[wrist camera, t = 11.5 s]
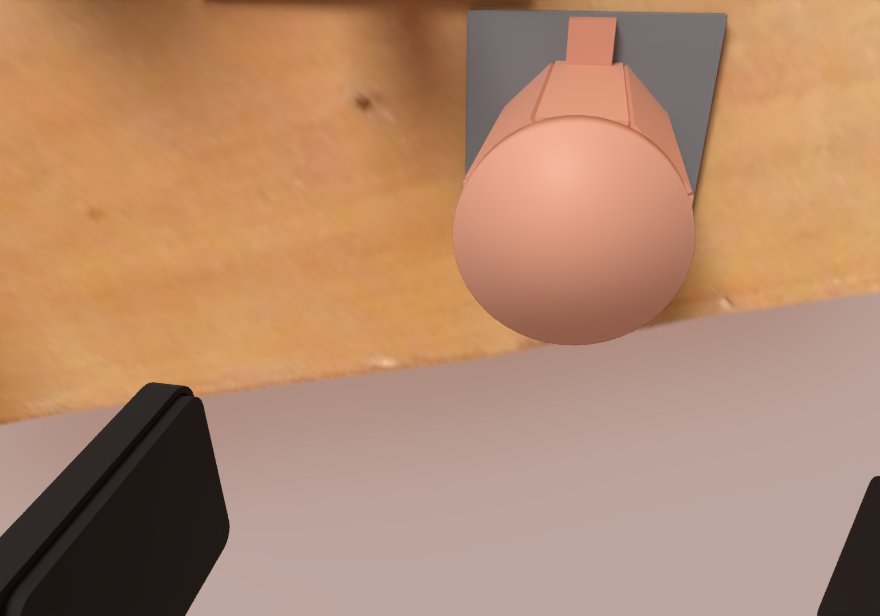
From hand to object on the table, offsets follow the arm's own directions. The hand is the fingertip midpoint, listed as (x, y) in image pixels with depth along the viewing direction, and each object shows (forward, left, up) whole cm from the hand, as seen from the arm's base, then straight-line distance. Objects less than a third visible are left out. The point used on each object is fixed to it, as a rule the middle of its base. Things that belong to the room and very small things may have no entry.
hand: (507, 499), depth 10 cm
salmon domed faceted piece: (0, 0, -20) cm, 20 cm away
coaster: (0, 0, -20) cm, 20 cm away
